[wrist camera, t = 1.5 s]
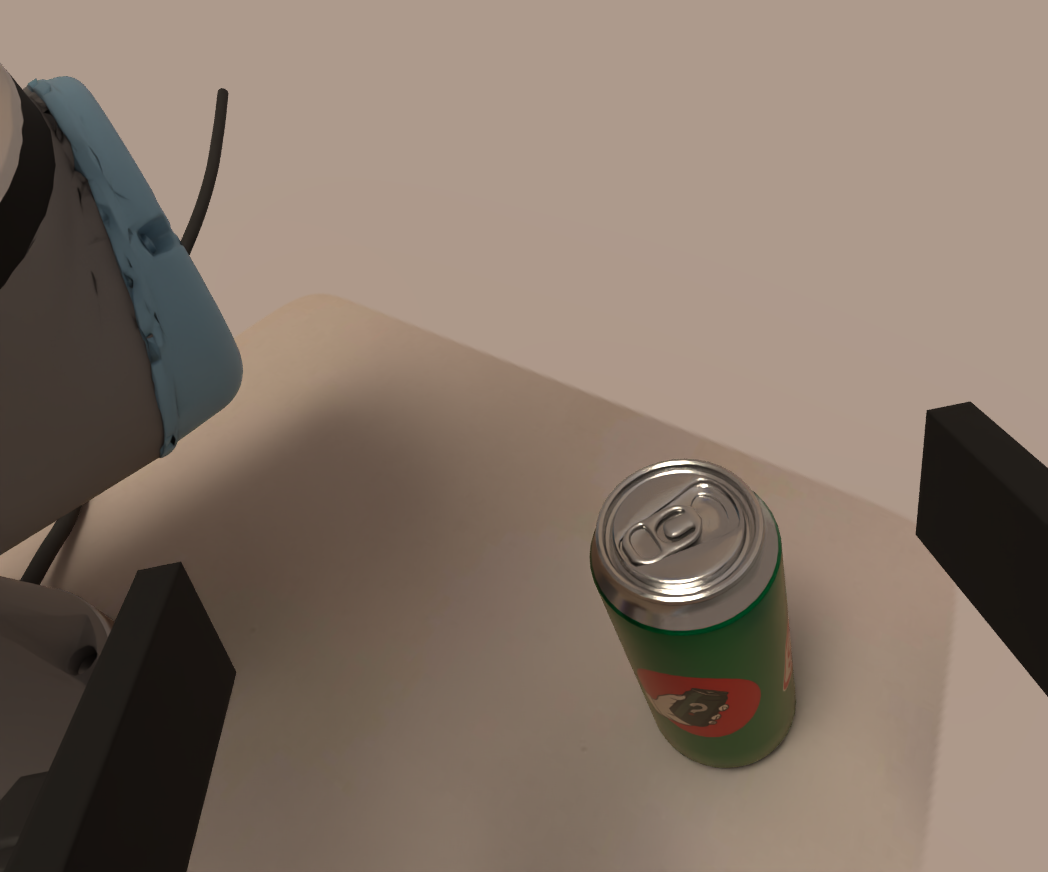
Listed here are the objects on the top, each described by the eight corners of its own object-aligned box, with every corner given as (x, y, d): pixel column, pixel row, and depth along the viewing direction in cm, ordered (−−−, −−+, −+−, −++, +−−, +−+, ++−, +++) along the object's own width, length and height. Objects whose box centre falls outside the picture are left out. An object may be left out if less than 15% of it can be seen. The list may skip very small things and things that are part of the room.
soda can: (827, 728, 29) (822, 550, 20) (698, 800, 29) (637, 652, 20) (744, 613, 32) (709, 417, 24) (629, 677, 32) (550, 503, 23)
